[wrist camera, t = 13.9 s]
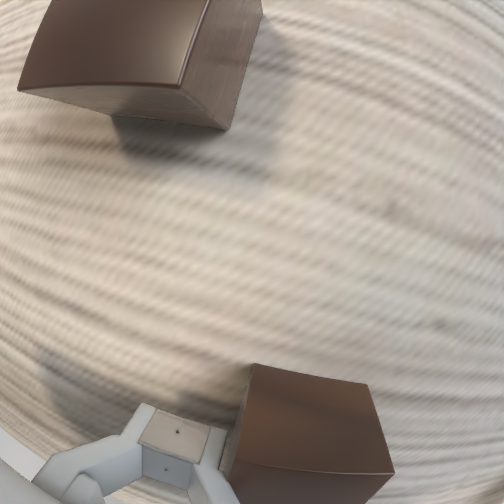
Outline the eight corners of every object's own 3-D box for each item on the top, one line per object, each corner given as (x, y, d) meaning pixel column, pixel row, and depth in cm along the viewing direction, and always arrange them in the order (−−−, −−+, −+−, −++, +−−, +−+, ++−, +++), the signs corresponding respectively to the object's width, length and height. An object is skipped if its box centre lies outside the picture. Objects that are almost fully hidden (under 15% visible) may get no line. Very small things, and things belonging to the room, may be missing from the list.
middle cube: (230, 437, 10) (210, 518, 6) (253, 362, 9) (234, 458, 5) (325, 453, 10) (331, 532, 6) (367, 383, 9) (396, 473, 5)
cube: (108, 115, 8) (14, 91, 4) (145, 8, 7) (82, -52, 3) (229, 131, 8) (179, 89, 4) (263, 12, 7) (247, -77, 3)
